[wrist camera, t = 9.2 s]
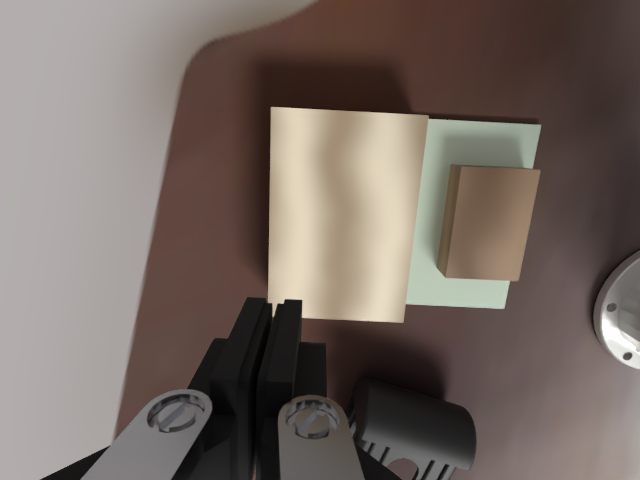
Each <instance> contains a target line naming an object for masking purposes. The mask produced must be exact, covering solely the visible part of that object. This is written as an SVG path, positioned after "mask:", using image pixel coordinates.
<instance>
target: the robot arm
mask: <svg viewBox="0 0 640 480" xmlns="http://www.w3.org/2000/svg"><path fill="white" fill-rule="evenodd" d="M272 314H273V305H272V303H266V298H253V297H247V299H246V301H245V303H244V306H243V308H242V310H241V312H240V314H239V316H238V318H237V321H236V323H235V325H234V327H233V329H232V331H231V333H230V336H229V338H228V339H225V338H215V339H214V340H213V342H212V343H211V345H210V347H209V349H208V351H207V353H206V355H205V356H204V358H203V360H202V362H201V364H200V366H199V368H198V369H197V371H196V373H195V375H194V377H193V379H192V381H191V383H190V384H189V386H188V388H187V389H181V390H175V391H171V392H168V393H165V394H162V395H160V396H158V397H157V398H155V399H153V400H152V401H151V402H149V403H148V404H147V405H146V406H145V407H144V408H143V409H142V410H141V411H140V413H139V414H138V415H137V416H136V417H135V418H134V419H133V421H132V422H131V423H130V424H129V425H128V426H127V427H126V428H125V430H124V431H123V432H122V433H121V434H120V435H119V436H118V438H117V439H116V440H115V441H114V442H113V443H112V444H111V445H110V446H108V447H106V448H104V449H102V450H100V451H98V452H96V453H94V454H92V455H90V456H88V457H86V458H83V459H81V460H79V461H77V462H75V463H73V464H71V465H69V466H67V467H65V468H63V469H61V470H59V471H57V472H55V473H53V474H51V475H49V476H47V477H45V478H43V479H41V480H252V479H253V474H254V469H255V464H256V480H402V479H401V478H399V477H398V476H397V475H395V474H394V473H393V472H392V471H390V470H389V469H388V468H386V467H385V466H384V465H383V464H381V463H380V462H379V461H377V460H376V459H375V458H374V457H372V456H371V455H370V454H368V453H367V452H366V451H365V450H363V449H362V448H361V447H359V446H358V445H357V444H356V443H354V441H353V438H352V434H351V431H350V428H349V424H348V421H347V417H346V415H345V413H344V411H343V409H342V408H341V407H340V406H339V405H338V404H337V403H336V402H334V401H332V400H331V399H329V398H327V384H326V344H325V343H309V342H301V327H302V300H295V299H285V300H284V304H280V303H278V304H277V307H276V311H275V315H274V318H273V322H272ZM593 320H594V329H595V332H596V335H597V338H598V340H599V341H600V343H601V345H602V346H603V348H604V349H605V350H606V351H607V352H609V353H610V354H611V355H612V356H613V357H614V358H616V359H617V360H619V361H620V362H621V363H623V364H625V365H628V366H630V367H632V368H635V369H639V370H640V251H638V252H636V253H635V254H633V255H632V256H630V257H629V258H627V259H626V260H624V261H623V262H622V263H621V264H620V265H619V266H618V267H617V268H616V269H615V270H614V271H613V272H612V273H611V275H610V276H609V277H608V278H607V280H606V281H605V283H604V284H603V286H602V288H601V290H600V292H599V294H598V297H597V300H596V303H595V307H594V315H593Z"/></svg>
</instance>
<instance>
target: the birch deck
mask: <svg viewBox="0 0 640 480" xmlns="http://www.w3.org/2000/svg"><path fill="white" fill-rule="evenodd" d="M428 118H429V115H413V114H394V113H376V112H357V111H339V110H320V109H302V108H283V107H271V142H270V209H269V275H268V303H272V305H273V314H272V316H274V315H275V311H276V307H277V304H278V303H280V304H284V300H285V299H295V300H302V318H317V319H338V320H359V321H380V322H401V323H403V321H404V312H405V304H406V296H407V288H408V280H409V272H410V264H411V256H412V248H413V240H414V232H415V223H416V215H417V207H418V199H419V191H420V183H421V175H422V167H423V159H424V151H425V143H426V134H427V126H428Z"/></svg>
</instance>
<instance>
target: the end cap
mask: <svg viewBox="0 0 640 480" xmlns="http://www.w3.org/2000/svg"><path fill="white" fill-rule="evenodd" d="M345 415H346V417H347V421H348V424H349V428H350V431H351V434H353V436H352V438H353V441H354V443H356V444H357V445H358V446H359V447H361V448H362V449H363V450H365V451H366V452H367V453H368V454H370V455H371V456H372V457H374V458H375V459H376V460H377V461H379V462H380V463H381V464H383V465H384V466H385V467H387V465H388V464H389V463H390V462H392V461H393V460H396V459H400V458H406V459H410V460H412V461H414V462H415V463H416V464H417V466H418V468H417V471H416V473H415V475H414V477H413V479H412V480H450V478H451V476H452V474H453V472H454V471H455V469H456V467H458V468H462V469H465V470H470V468H471V466H472V464H473V461H474V458H475V452H476V430H475V425H474V422H473V419H472V417H471V415H470V413H469V412H468V411H467V410H466V409H465V408H464V407H462V406H459V405H456V404H453V403H450V402H446V401H443V400H440V399H437V398H433V397H430V396H427V395H424V394H420V393H417V392H414V391H411V390H407V389H404V388H401V387H397V386H394V385H391V384H388V383H384V382H381V381H378V380H375V379H371V378H368V377H362V378H361V379H360V380H359V381H358V382H357V383H356V385H355V387H354V389H353V396H352V398H351V401H350V403H349V405H348V407H347V410H346V412H345Z"/></svg>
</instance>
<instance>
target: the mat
mask: <svg viewBox="0 0 640 480" xmlns="http://www.w3.org/2000/svg"><path fill="white" fill-rule="evenodd" d="M540 129H541V125H533V124H515V123H496V122H478V121H459V120H441V119H428V126H427V134H426V143H425V151H424V159H423V167H422V175H421V183H420V191H419V199H418V207H417V215H416V223H415V232H414V240H413V248H412V256H411V264H410V272H409V280H408V288H407V296H406V304H416V305H436V306H457V307H478V308H498V309H504V307H505V302H506V297H507V292H508V287H509V282H510V281H502V280H479V279H457V278H445V277H444V276H443V275H442V273H441V272H440V271H439V270H438V269H437V262H438V255H439V247H440V240H441V233H442V226H443V218H444V211H445V204H446V197H447V189H448V182H449V175H450V168H451V164H456V165H478V166H499V167H521V168H530V169H533V164H534V159H535V154H536V149H537V144H538V139H539V134H540Z"/></svg>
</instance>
